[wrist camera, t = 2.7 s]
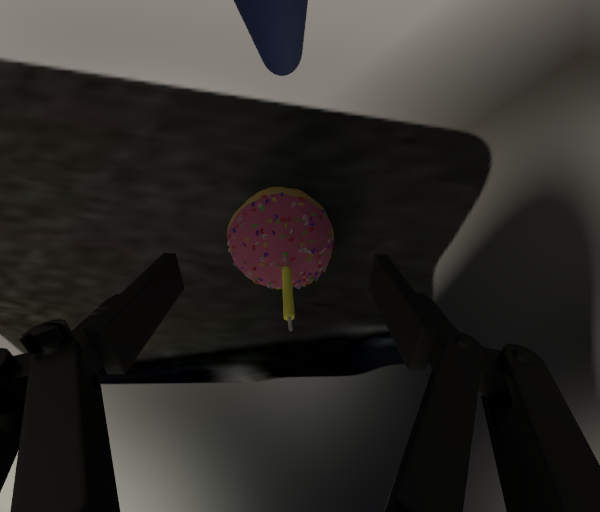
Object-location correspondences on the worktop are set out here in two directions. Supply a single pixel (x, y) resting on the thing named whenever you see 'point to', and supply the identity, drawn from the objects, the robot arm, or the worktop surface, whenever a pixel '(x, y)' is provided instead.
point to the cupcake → (281, 241)
